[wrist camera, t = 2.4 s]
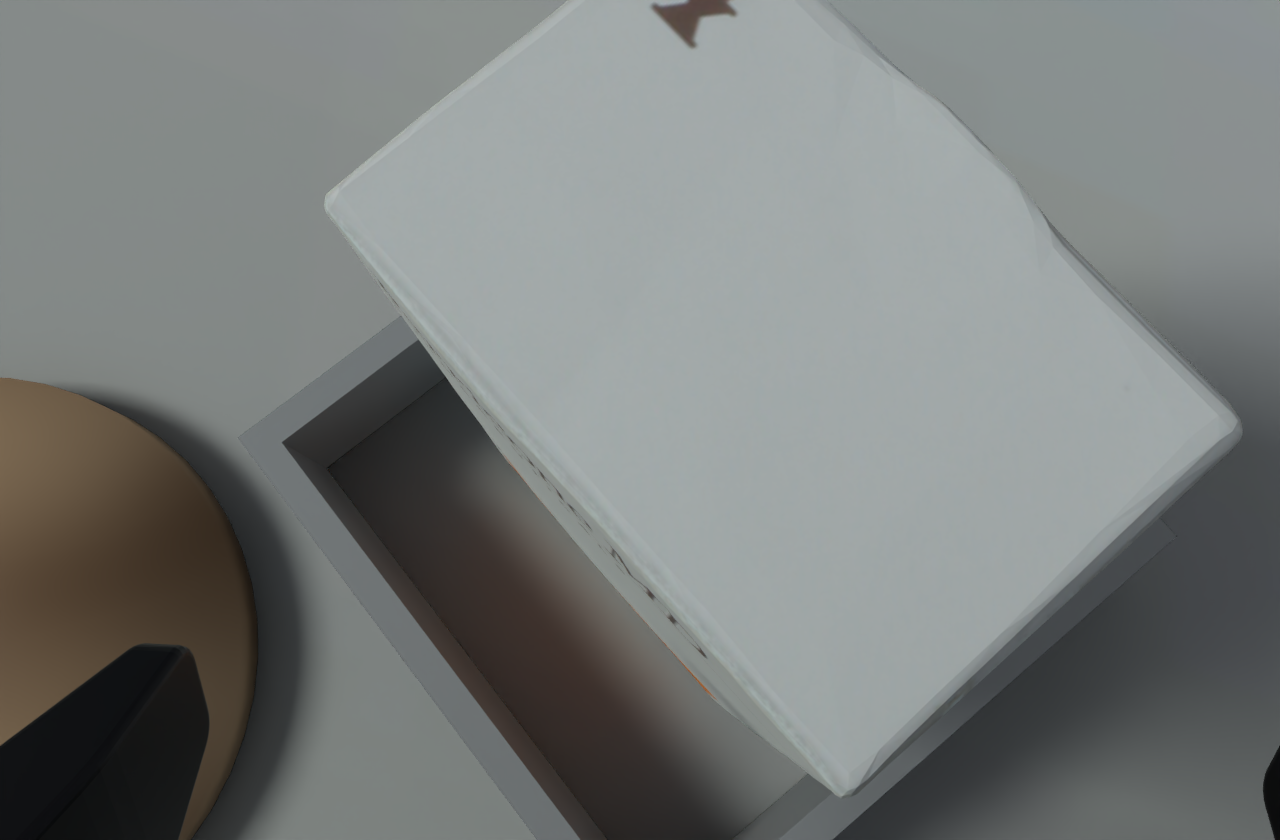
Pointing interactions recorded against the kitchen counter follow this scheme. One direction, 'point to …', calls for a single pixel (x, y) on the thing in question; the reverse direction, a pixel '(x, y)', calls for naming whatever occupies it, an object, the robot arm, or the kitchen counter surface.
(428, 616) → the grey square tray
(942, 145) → the skincare box
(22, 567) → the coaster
